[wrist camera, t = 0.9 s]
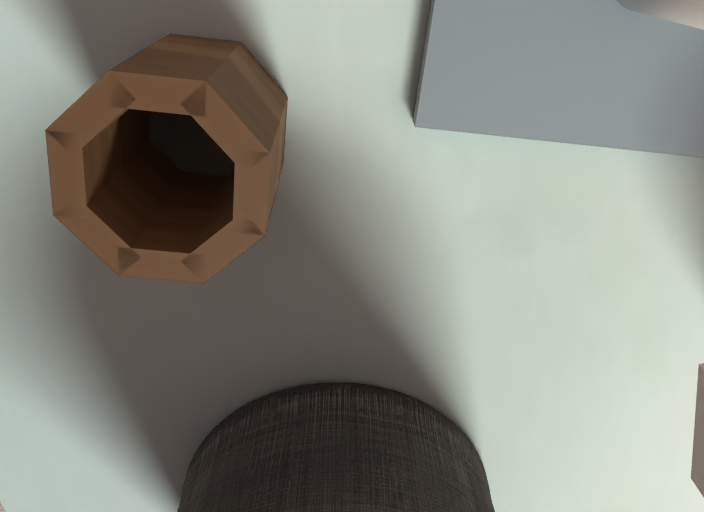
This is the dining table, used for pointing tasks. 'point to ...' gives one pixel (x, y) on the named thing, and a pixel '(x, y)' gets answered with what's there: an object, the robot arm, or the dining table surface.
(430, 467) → the planter
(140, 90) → the collar
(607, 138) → the post block
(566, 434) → the dining table surface
